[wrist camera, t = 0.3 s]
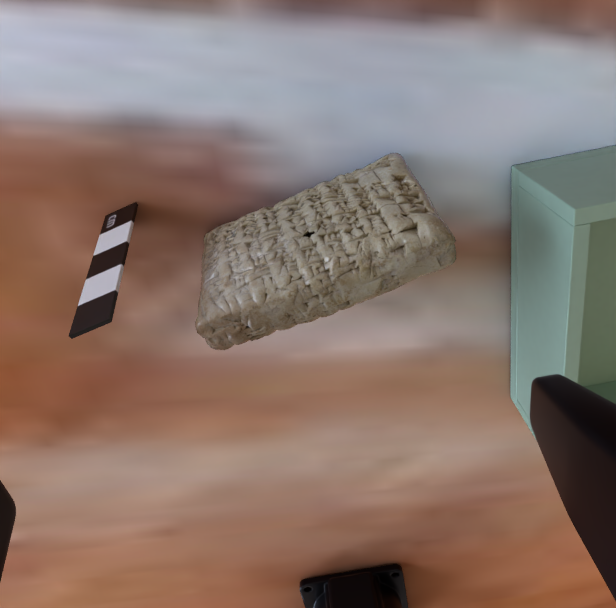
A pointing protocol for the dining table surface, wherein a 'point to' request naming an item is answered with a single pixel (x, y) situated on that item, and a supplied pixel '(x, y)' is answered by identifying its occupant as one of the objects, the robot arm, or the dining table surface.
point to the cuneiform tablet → (293, 255)
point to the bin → (564, 273)
